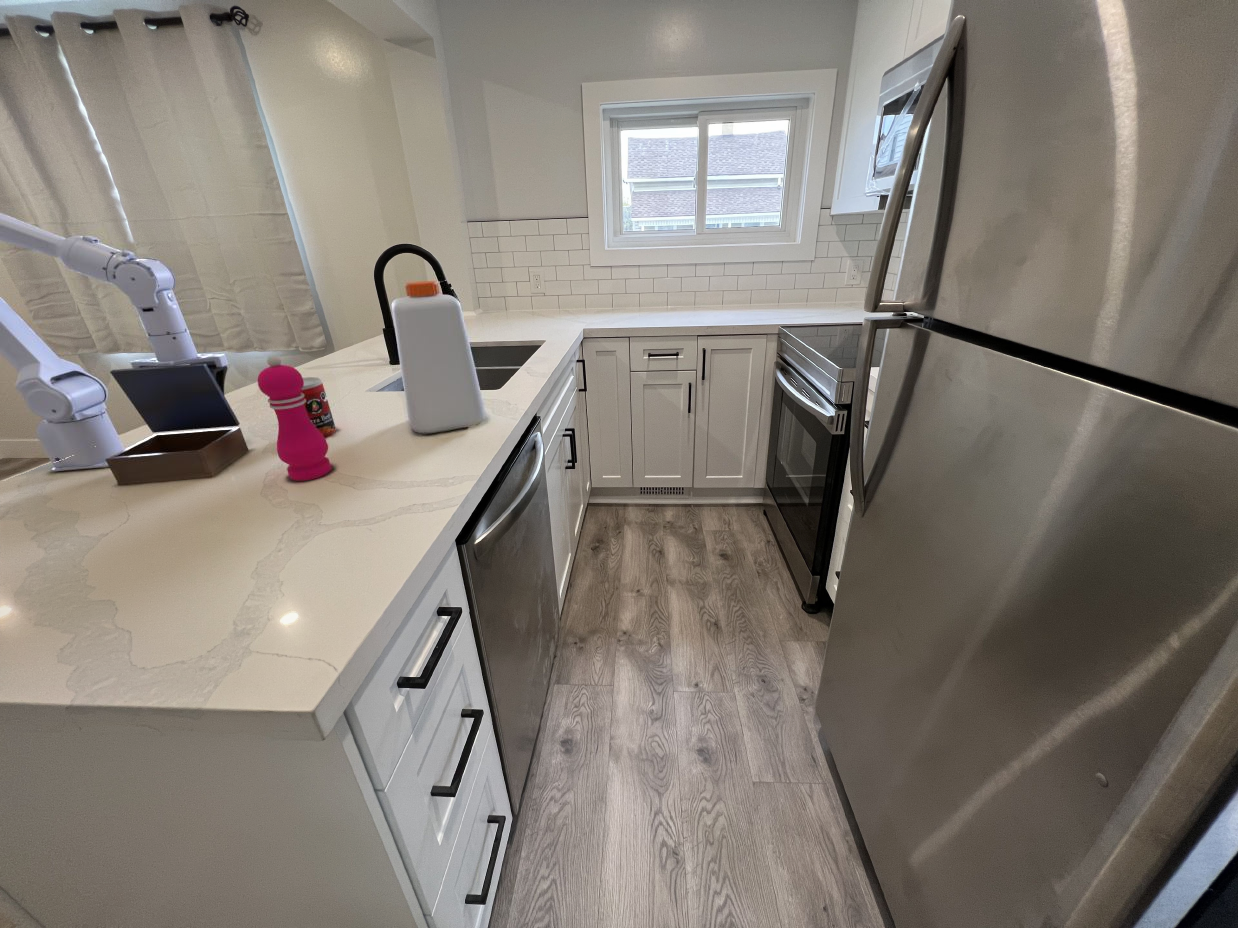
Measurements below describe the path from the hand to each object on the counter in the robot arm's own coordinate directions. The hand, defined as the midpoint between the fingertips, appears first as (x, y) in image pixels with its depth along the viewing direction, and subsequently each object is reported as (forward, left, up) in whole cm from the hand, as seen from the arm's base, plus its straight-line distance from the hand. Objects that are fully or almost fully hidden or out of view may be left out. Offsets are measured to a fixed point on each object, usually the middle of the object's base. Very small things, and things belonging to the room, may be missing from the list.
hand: (198, 406), depth 93 cm
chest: (0, -8, -9) cm, 12 cm away
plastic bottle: (+43, +6, -9) cm, 44 cm away
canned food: (+17, +4, -9) cm, 19 cm away
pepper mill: (+24, -16, -9) cm, 30 cm away
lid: (0, -4, +3) cm, 5 cm away
